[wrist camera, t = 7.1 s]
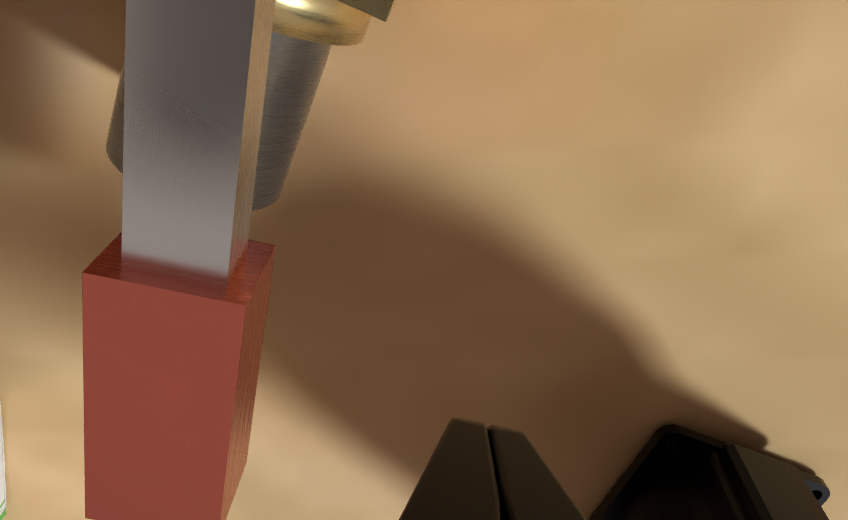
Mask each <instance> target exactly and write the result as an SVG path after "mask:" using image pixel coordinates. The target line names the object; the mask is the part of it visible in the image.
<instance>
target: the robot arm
mask: <svg viewBox="0 0 848 520" xmlns="http://www.w3.org/2000/svg"><path fill="white" fill-rule="evenodd" d="M673 438H674V439H675V440H674V441H671V442H667V441H668V440H669V439H673ZM829 496H830V491H829V489H828V487H827V486H826V484H825V483H824V481H823V480H822V479H821V478H819V477H817V476H815V475H812V474H809V473H806V472H804V471H801V470H798V468H797V467H796V466H794V465H792V464H789V463H786V462H784V461H781V460H778V459H776V458H773V457H770V456H767V455H765V454H762V453H759V452H756V451H754V450H751V449H748V448H746V447H743V446H740V445H737V444H729V443H725V442H722V441H719V440H717V439H714V438H711V437H708V436H706V435H703V434H700V433H697V432H695V431H692V430H689V429H687V428H684V427H681V426H678V425H673V424H671V425H665V426H663V427H661V428H659V429H658V430H657V431H656V432H655V434H654V435H653V436H652V438H651V439H650V440H649V442H648V443H647V444H646V446H645V447H644V448H643V450H642V451H641V452H640V454H639V455H638V456H637V458H636V459H635V460H634V461H633V463H632V464H631V465H630V467H629V468H628V469H627V471H626V472H625V473H624V475H623V476H622V477H621V479H620V480H619V481H618V483H617V484H616V485H615V486H614V488H613V489H612V490H611V492H610V493H609V494H608V496H607V497H606V498H605V500H604V501H603V502H602V504H601V505H600V506H599V508H598V509H597V510H596V512H595V513H594V514H593V515H592V517H591V518H590V519H589V520H829V519H828V517H827V516H826V514H825V512H824V511H823V509H822V507H821V506H822V505H823V504H824V503H825V502H826V501H827V499H828V498H829ZM399 520H586V518H585V517H584V515H583V514H582V513H581V511H580V510H579V509H578V507H577V506H576V504H575V503H574V502H573V500H572V499H571V497H570V496H569V495H568V493H567V492H566V490H565V489H564V488H563V486H562V485H561V483H560V482H559V481H558V479H557V478H556V476H555V475H554V474H553V472H552V471H551V469H550V468H549V467H548V465H547V464H546V463H545V461H544V460H543V458H542V457H541V456H540V454H539V453H538V451H537V450H536V449H535V447H534V446H533V444H532V443H531V442H530V440H529V439H528V437H527V436H526V435H525V434H524V433H523V432H521V431H519V430H515V429H510V428H505V427H500V426H495V425H491V426H489V427H486V426H485V425H484V424H483V423H481V422H476V421H471V420H467V419H462V418H453V419H451V420H450V422H449V424H448V425H447V427H446V429H445V431H444V433H443V435H442V437H441V439H440V441H439V443H438V445H437V447H436V449H435V451H434V453H433V455H432V456H431V458H430V460H429V462H428V464H427V466H426V468H425V470H424V472H423V474H422V476H421V478H420V480H419V482H418V484H417V486H416V487H415V489H414V491H413V493H412V495H411V497H410V499H409V501H408V503H407V505H406V507H405V509H404V511H403V513H402V515H401V517H400V518H399Z"/></svg>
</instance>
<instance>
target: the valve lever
mask: <svg viewBox="0 0 848 520" xmlns="http://www.w3.org/2000/svg"><path fill="white" fill-rule="evenodd" d="M275 1H276V0H126V27H125V83H124V140H123V196H122V232H121V233H120V234H119V235H118V236H117V237H116V238H115V239H114V240H113V241H112V242H111V243H110V244H109V246H108V247H107V248H106V249H105V250H104V251H103V252H102V253H101V254H100V255H99V256H98V257H97V258H96V259H95V260H94V261H93V262H92V263H91V264H90V265H89V266H88V267H87V268H86V269H85V270H84V271H83V272H82V302H83V380H84V458H85V518H88V519H93V520H226V518H227V515H228V512H229V509H230V506H231V504H232V501H233V498H234V495H235V493H236V490H237V487H238V484H239V481H240V479H241V476H242V473H243V470H244V467H245V465H246V461H247V454H248V446H249V439H250V432H251V424H252V417H253V409H254V402H255V395H256V387H257V380H258V373H259V365H260V358H261V351H262V343H263V336H264V328H265V321H266V314H267V306H268V299H269V292H270V284H271V277H272V270H273V262H274V255H275V247H276V245H271V244H266V243H261V242H257V241H252V240H248V237H249V229H250V220H251V211H252V202H253V194H254V185H255V176H256V167H257V159H258V150H259V141H260V132H261V124H262V115H263V106H264V97H265V89H266V80H267V71H268V62H269V54H270V45H271V36H272V27H273V18H274V10H275Z"/></svg>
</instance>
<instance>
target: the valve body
mask: <svg viewBox="0 0 848 520" xmlns="http://www.w3.org/2000/svg"><path fill="white" fill-rule="evenodd" d="M396 1H397V0H276V1H275V10H274V18H273V27H272V36H271V45H270V54H269V62H268V71H267V80H266V89H265V97H264V106H263V115H262V124H261V132H260V141H259V150H258V159H257V167H256V176H255V185H254V194H253V202H252V210H257V209H261V208H264V207H267V206H269V205H271V204H272V203H274V202H275V201H276V200H277V199H278V198H279V196H280V193H281V190H282V187H283V184H284V181H285V179H286V176H287V173H288V170H289V167H290V164H291V161H292V158H293V155H294V152H295V149H296V146H297V144H298V141H299V138H300V135H301V132H302V129H303V126H304V124H305V122H306V119H307V116H308V113H309V110H310V107H311V104H312V101H313V98H314V95H315V92H316V90H317V87H318V84H319V81H320V78H321V75H322V72H323V69H324V66H325V63H326V60H327V57H328V55H329V50H330V47H331V45H345V46H349V45H356V44H359V43H361V42H362V41H363V39H364V36H365V33H366V31H367V28H368V25H369V22H370V20H371V17H372V16H373V17H376V18H378V19H380V20H383V21H385V22H386V20H387V18H388V17H389V15H390V13H391V11H392V9H393V7H394V5H395V3H396ZM124 83H125V56H124V60H123V65H122V70H121V75H120V80H119V85H118V90H117V95H116V99H115V104H114V109H113V114H112V119H111V124H110V129H109V133H108V138H107V143H106V152H107V154H108V157H109V159H110V160H111V162H112V163H113V164H114V165H115V167H116V168H117V169H118V170H119V171H120V172H122V173H123V140H124Z"/></svg>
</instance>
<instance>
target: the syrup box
mask: <svg viewBox="0 0 848 520" xmlns="http://www.w3.org/2000/svg"><path fill="white" fill-rule="evenodd" d="M5 510H6V484H5V461H4V443H3V431H2V416H1V400H0V520H3V518H4V516H5V515H6V511H5Z"/></svg>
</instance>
